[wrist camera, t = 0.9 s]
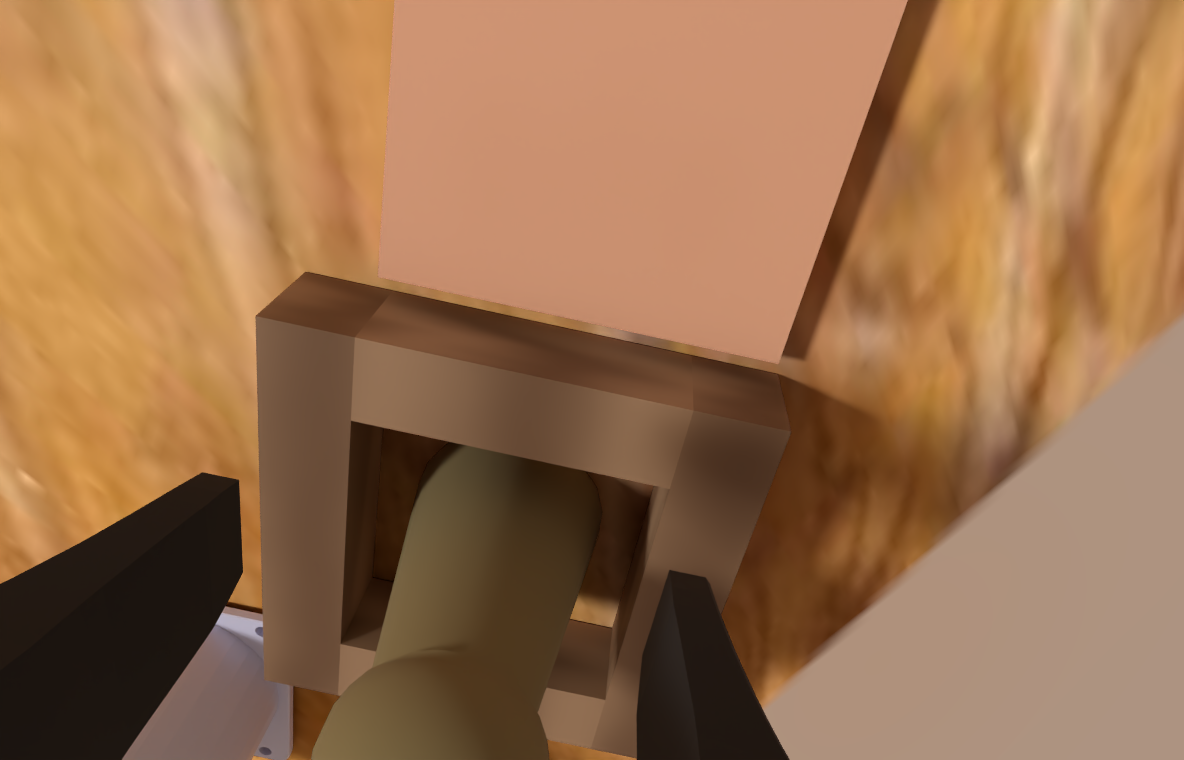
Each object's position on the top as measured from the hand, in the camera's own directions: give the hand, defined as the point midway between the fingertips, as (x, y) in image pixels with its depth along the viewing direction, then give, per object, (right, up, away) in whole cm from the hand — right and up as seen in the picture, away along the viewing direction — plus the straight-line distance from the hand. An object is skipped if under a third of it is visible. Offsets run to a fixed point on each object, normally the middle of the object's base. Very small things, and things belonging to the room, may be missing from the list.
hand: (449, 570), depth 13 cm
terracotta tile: (+3, +10, +6) cm, 12 cm away
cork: (0, -1, +13) cm, 13 cm away
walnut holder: (0, -1, +13) cm, 12 cm away
